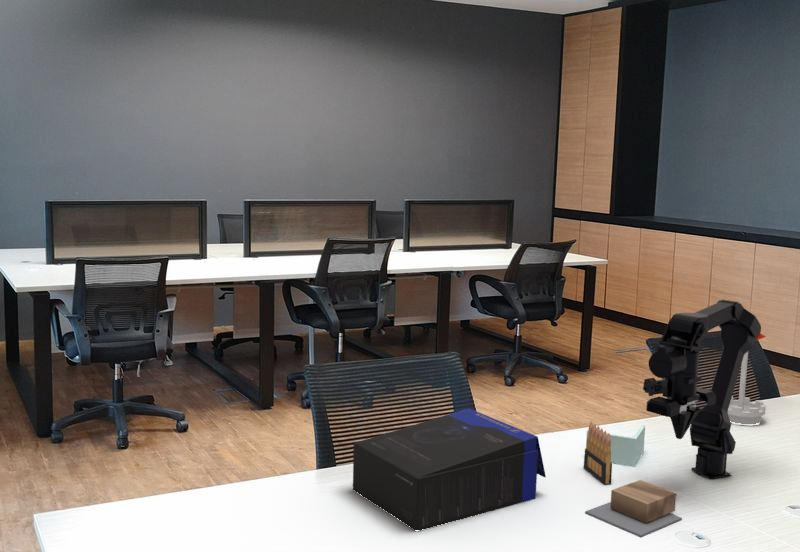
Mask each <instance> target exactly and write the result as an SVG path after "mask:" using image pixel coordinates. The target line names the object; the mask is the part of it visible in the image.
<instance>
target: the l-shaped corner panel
mask: <svg viewBox="0 0 800 552" xmlns="http://www.w3.org/2000/svg"><path fill="white" fill-rule="evenodd" d="M606 433H607V432H606ZM608 433H609V434H610V437H611V463H612V464H616V465H620V466H621V465H622V466H627V467H632V468H635V467H636V465H637V464H638V462H639V461H640V459H641V457H642V456H641V455H643V454H644V451H645V436H646V425H644V424H641V426H640V427H639V428H638V430H637V431H636V433H635V434H634V436H627V435H622V434H616V433H615V434H614V433H610V432H608ZM608 433H607V435H608ZM587 436H588V430H586V437H587ZM585 440H586V442H585V443H586V444H585V446H586V445H587V438H586V439H585Z"/></svg>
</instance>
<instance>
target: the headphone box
mask: <svg viewBox="0 0 800 552" xmlns="http://www.w3.org/2000/svg"><path fill="white" fill-rule="evenodd" d="M352 452H353V456H352V457H353V458H352V460H353V461H352V466H353V468H352V491H353V490H355V491H356V492H358V493H359V494H361V495H362V496H363V497H365V498H367V499H368V500H370V501H371V502H373V503H374V504H376V505H378V506H379V507H381V508H382V509H384V510H385V511H387V512H388V513H390V514H392V515H393V516H395V517H396V518H398V519H399V520H401V521H402V522H404V523H405V524H407V525H408V526H410V527H411V528H413V529H414V530H422V529H426V528H429V529H431V528H430V527H433V526H436V527H438V526H437V525H440V526H442V525H441V524H443V525H446V524H445V523H447V524H449V523H448V522H451V523H453V522H452V521H454V522H457V521H456V520H458V521H461V520H464V518H465V519H468V517H469V518H472V517H475V515H476V516H478V514H479V515H483V514H487V513H491V512H493V511H498V510H500V509H504V508H507V507H510V506H511V507H512V506H515V505H519V504H521V503H522V504H523V503H526V502H530V501H533V500H536V498H537V483H538V482H537V479H538V475H539V476H540V477H543V478H547V476H546V472H545V471H546V470H545V466H544V462H543V460H544V459H543V456H542V451H541V447H540V441H539V437H538V435H535V434H532V433H530V432H527V431H525V430H523V429H521V428H518V427H515V426H514V425H511V424H508V423H505V422H504V421H501V420H499V419H496V418H494V417H491V416H489V415H487V414H484V413H481V412H479V411H477V410H474V409H472V408H465V409H462V410H458V411H455V412H452V413H449V414H446V415H443V416H439V417H436V418H433V419H430V420H427V421H422V422H419V423H417V424H413V425H409V426H406V427H402V428H400V429H396V430H393V431H390V432H387V433H383V434H380V435H376V436H373V437H370V438H367V439H363V440H359V441H355V442H353V451H352ZM356 492H355V493H356ZM359 494H358V495H359ZM362 496H361V497H362ZM363 497H362V498H363ZM365 498H364V499H365ZM367 499H366V500H367ZM368 500H367V501H368ZM370 501H369V502H370ZM371 502H370V503H371ZM373 503H372V504H373ZM374 504H373V505H374ZM376 505H375V506H376ZM379 507H378V508H379ZM382 509H381V510H382ZM385 511H384V512H385ZM387 512H386V513H387ZM486 512H487V513H486ZM388 513H387V514H388ZM482 513H483V514H482ZM390 514H389V515H390ZM393 516H392V517H393ZM471 516H472V517H471ZM396 518H395V519H396ZM460 519H461V520H460ZM399 520H398V521H399ZM402 522H401V523H402ZM405 524H404V525H405ZM407 525H406V526H407ZM408 526H407V527H408ZM410 527H409V528H410ZM411 528H410V529H411ZM433 528H434V527H433ZM413 529H412V530H413ZM414 530H413V531H414ZM426 530H427V529H426ZM422 531H423V530H422Z"/></svg>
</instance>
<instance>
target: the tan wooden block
mask: <svg viewBox="0 0 800 552" xmlns="http://www.w3.org/2000/svg"><path fill="white" fill-rule="evenodd" d="M610 493H611V494H610V502H611V506H610V508H611V509H614V510H616V511H618V512H620V513H623V514H625V515H628V516H630V517H633V518H635V519H637V520H640V521H642V522H645V523H647V522H650V521H652V520H655V519H657V518H659V517H662V516H664V515H667V514H669V513H671V514H672V513H674V512H675V511H676V501H677V500H676V499H677V492H674V491H672V490H669V489H666V488H664V487H661V486H658V485H655V484H653V483H650V482H647V481H645V480H641V479H639V480H636V481H634V482H630V483H628V484H624V485H622V486H619V487H617V488H614V489H611V492H610Z"/></svg>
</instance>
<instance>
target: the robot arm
mask: <svg viewBox="0 0 800 552" xmlns="http://www.w3.org/2000/svg"><path fill="white" fill-rule="evenodd" d="M717 327H719V328H720V334H719V336H720V339H721V344H722V347H723V348H722V351H721V352H722V353H721V355H720V358H719V362H718V365H717V368H716V372H715V375H714V378H713V382H712V386H711V389H707V388H702V387H698V385H697V384H698V382H701V381H702V376H699V375H698V374H699V371H698V370H699V362H700V361H699V359H700V351H701V350H703V349H704V345H703V344H702V342H703V341H704V340H705V339H706V338H708V337H709V331H710V330H713V329H715V328H717ZM761 333H762V326H761V323H760V321H759V320H758V318H757V317H756V315H755V314H753V313H752V312H750V311H748V309H746V308H744V306H743V305H742V303H740V302H739V301H735V300H729V299H728V300H727V299H721V300H720V299H719V300H718V301H717V302H716V303H714V304H711V305H710V306H707V307H705V308H702V309H700V310H698V311H696V312H679V313H675V314H673V315H672V316H671V318H670V319H669V321H668V323H667V324H666V327H665V330H664V331H663V334H662V336H661V338H660V340H659V345H658V346H657V351H655V352H654V353H652V354H651V356H650V357H649V359H648V368H649V372H651V374H652V375H653V376H655V377H657V378H659V379H656V378H655V377H651V378H644V381H643V385H642V386H643V387H642V390H643V391H644V393H646V394H648V395H647V396H648V397H652V398H650V399H648V400H647V401H646V407H645V408H646V409H645V410H646V412H649V413H653V414H656V415H659V416H662V417H666V418H670V421H671V424H672V427H673V432H674V435H675V438H676V439H678V440H682V439H683V438H684V436H685V435H686V433H687V432H688V430H689V435H690V442H691V443H690V444H691V446H692V447H696V448H697V453H696V455H695V466H694V467H691V471H693V472H695V473H696V474H699V475H700V476H703V477H705V478H707V479H709V480H711V479H712V480H713V479H719V478H725V477H730V476H731V473H730V472H728V471H726V470H727V469H726V468H727V459H728V458H727V456H728V455H733V453H734V452H735V448H736V444H737V443H736V440H735V438H734V436H733V435H732V433H731V427H732V424H731V422H730V419H729V416H728V408H729V405H730V401H731V398H732V396H733V394H734V391H735V387H736V383H737V380H738V377H739V374H740V372H741V365H742V360H743V357H744V354H745V353H747V352H748V353H749V351H750V350H751V349H753V347H755V345H756V342H757V341H758V340H757V338H758V336H759V335H760V334H761ZM756 340H757V341H756ZM661 394H662V395H661ZM655 395H661V396H656V397H653V396H655ZM700 401H701V402H705V405H704V406H703V407H702V408H699V407H697V404H696V402H700Z"/></svg>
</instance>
